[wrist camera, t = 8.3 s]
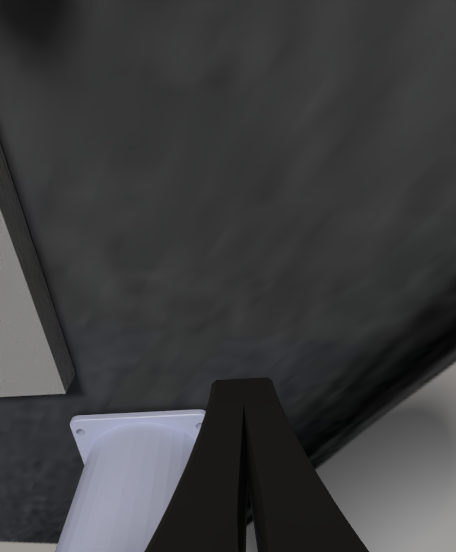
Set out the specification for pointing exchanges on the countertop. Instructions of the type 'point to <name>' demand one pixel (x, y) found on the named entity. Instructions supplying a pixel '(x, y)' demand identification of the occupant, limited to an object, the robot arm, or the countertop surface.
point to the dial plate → (26, 309)
